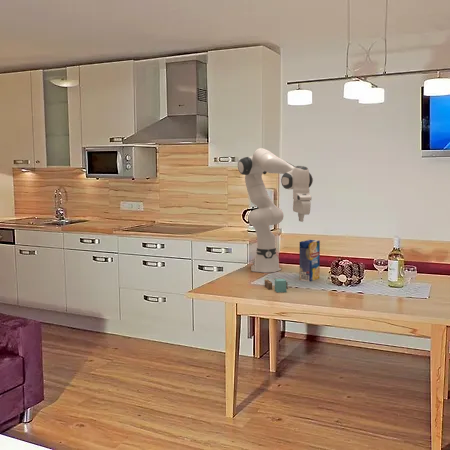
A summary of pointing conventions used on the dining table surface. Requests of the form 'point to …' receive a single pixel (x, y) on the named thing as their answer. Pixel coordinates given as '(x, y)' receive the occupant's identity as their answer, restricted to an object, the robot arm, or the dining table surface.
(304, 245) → the beverage box
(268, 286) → the chute
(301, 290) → the dining table surface
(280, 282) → the block
